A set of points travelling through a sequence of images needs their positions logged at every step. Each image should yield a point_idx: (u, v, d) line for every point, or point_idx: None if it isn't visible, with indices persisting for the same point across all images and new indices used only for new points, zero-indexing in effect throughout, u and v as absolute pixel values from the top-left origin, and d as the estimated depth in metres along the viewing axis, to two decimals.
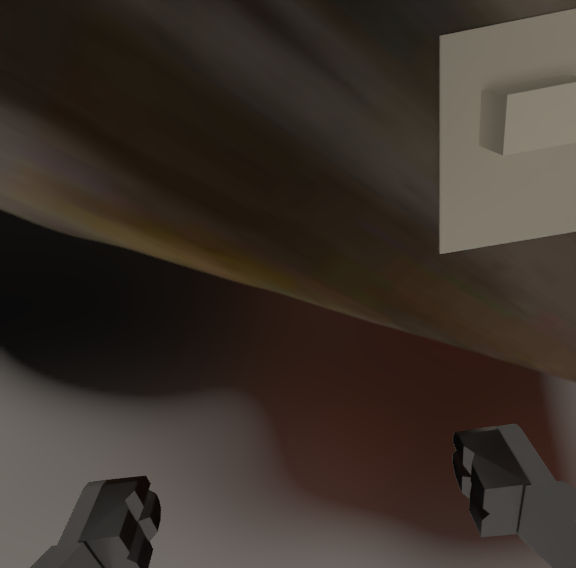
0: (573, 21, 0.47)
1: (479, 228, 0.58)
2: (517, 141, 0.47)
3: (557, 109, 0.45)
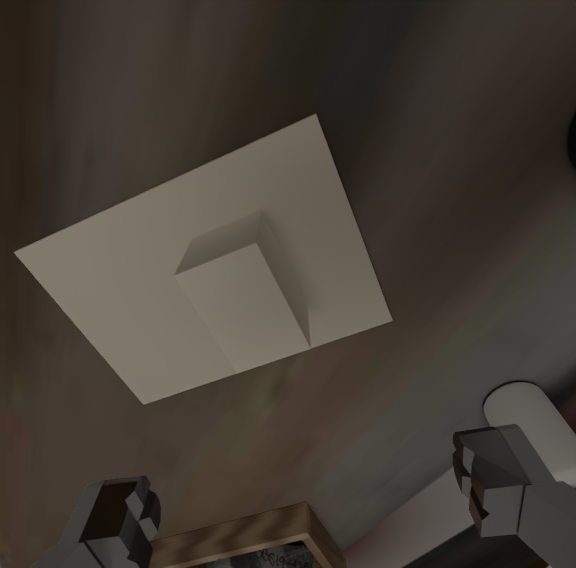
0: (364, 284, 0.37)
1: (83, 291, 0.37)
2: (200, 286, 0.30)
3: (258, 316, 0.31)
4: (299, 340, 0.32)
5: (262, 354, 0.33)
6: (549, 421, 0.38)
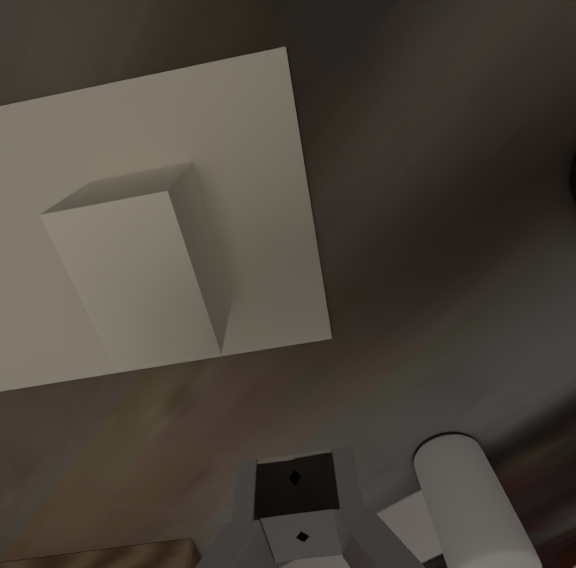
0: (306, 287, 0.30)
1: None
2: (79, 239, 0.21)
3: (156, 298, 0.22)
4: (207, 341, 0.24)
5: (154, 351, 0.24)
6: (487, 486, 0.33)
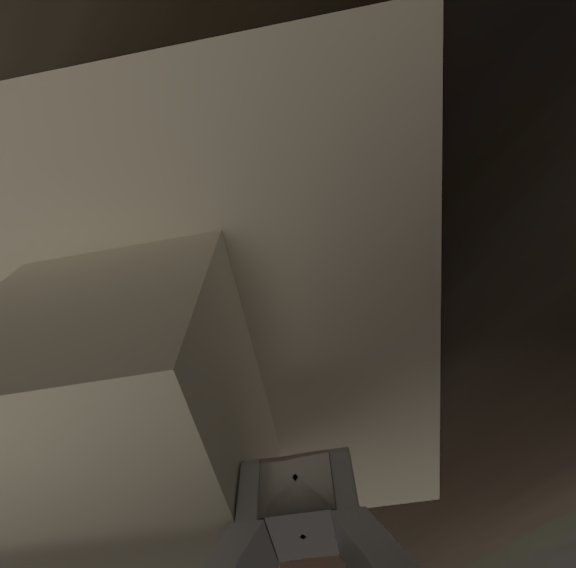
0: (410, 431, 0.17)
1: None
2: None
3: (144, 563, 0.10)
4: None
5: None
6: None
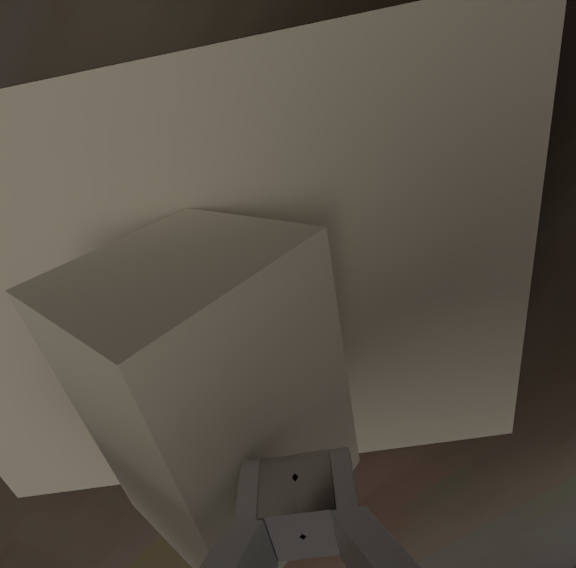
0: (494, 365, 0.19)
1: None
2: None
3: (149, 487, 0.12)
4: None
5: (162, 530, 0.14)
6: None
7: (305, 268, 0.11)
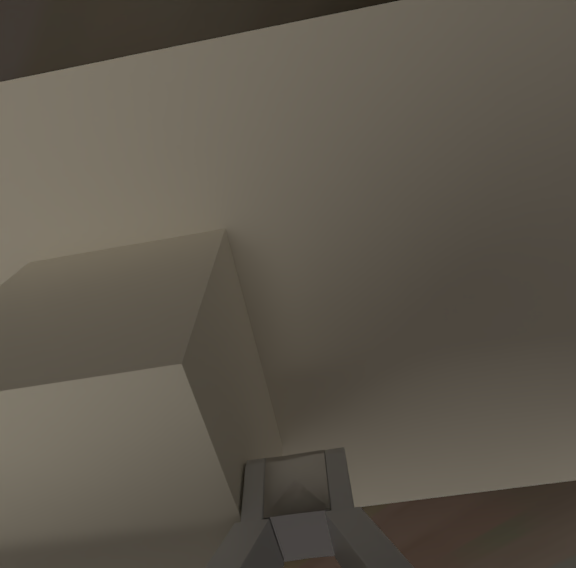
0: (570, 407, 0.17)
1: None
2: None
3: None
4: None
5: None
6: None
7: (133, 403, 0.07)
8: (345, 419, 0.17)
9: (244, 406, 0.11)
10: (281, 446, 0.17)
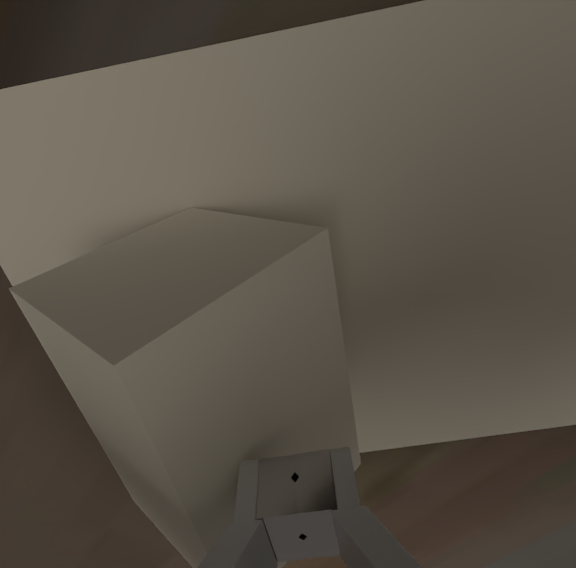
0: None
1: (67, 245, 0.16)
2: None
3: None
4: None
5: None
6: None
7: (102, 374, 0.08)
8: (439, 355, 0.19)
9: (265, 416, 0.11)
10: (356, 464, 0.16)
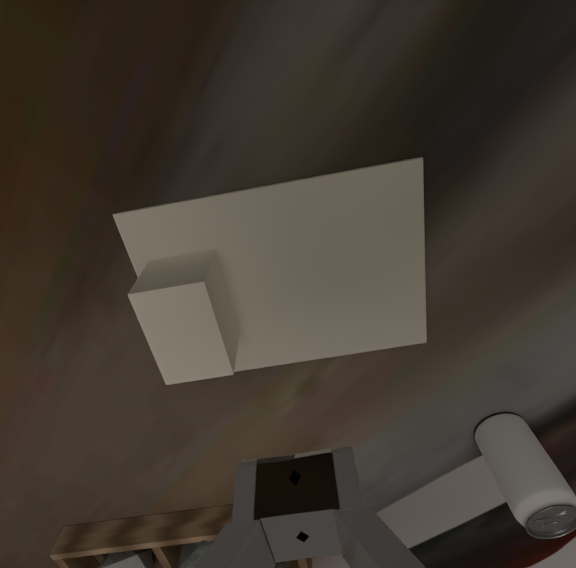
0: (413, 306, 0.42)
1: None
2: None
3: None
4: None
5: None
6: (536, 449, 0.46)
7: None
8: (324, 312, 0.43)
9: (175, 327, 0.35)
10: (230, 373, 0.38)
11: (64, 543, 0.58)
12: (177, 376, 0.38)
